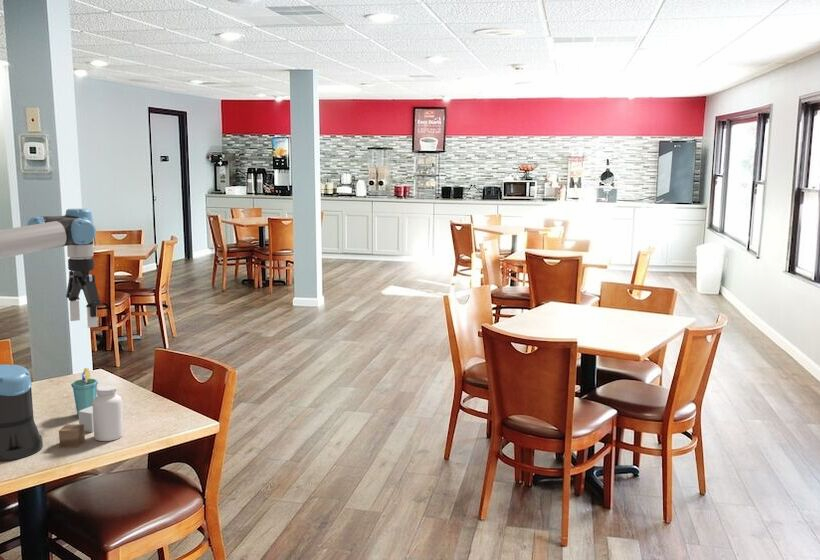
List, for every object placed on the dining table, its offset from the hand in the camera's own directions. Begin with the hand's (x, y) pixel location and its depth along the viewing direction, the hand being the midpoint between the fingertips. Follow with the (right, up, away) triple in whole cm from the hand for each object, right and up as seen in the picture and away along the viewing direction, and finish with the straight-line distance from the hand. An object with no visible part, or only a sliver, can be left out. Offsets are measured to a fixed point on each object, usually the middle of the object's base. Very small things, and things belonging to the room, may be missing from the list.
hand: (83, 323), depth 234 cm
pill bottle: (+16, -32, -20) cm, 41 cm away
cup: (+2, -29, -1) cm, 29 cm away
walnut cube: (+8, -33, -25) cm, 42 cm away
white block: (+8, -31, -13) cm, 35 cm away
